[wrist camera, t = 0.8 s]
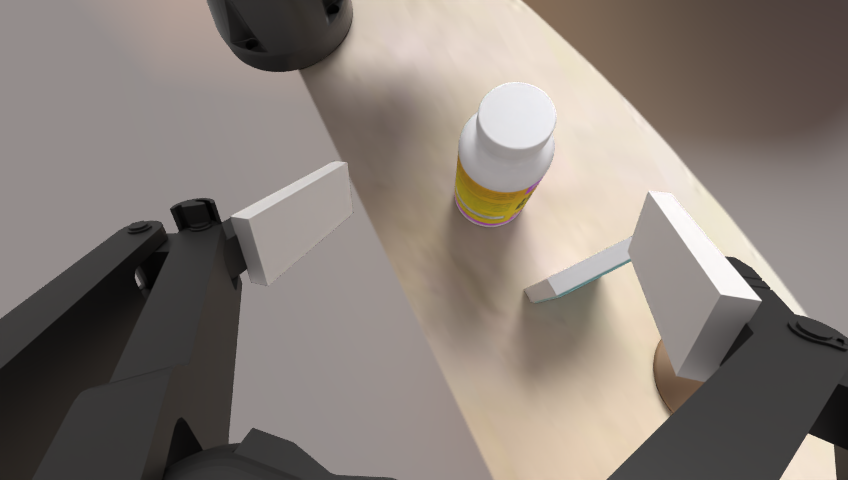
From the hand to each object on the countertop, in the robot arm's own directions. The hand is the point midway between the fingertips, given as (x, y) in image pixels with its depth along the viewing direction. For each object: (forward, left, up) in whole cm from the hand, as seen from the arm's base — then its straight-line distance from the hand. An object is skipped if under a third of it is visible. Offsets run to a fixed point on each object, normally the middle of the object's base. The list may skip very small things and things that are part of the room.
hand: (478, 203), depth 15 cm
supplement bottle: (-5, +6, -16) cm, 18 cm away
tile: (+5, +8, -16) cm, 19 cm away
